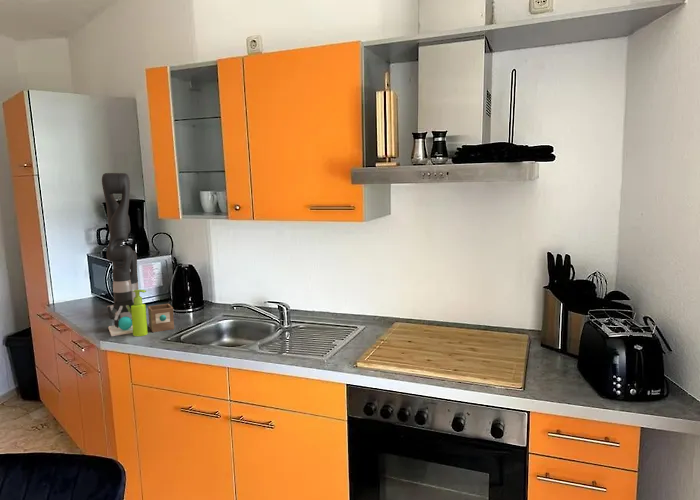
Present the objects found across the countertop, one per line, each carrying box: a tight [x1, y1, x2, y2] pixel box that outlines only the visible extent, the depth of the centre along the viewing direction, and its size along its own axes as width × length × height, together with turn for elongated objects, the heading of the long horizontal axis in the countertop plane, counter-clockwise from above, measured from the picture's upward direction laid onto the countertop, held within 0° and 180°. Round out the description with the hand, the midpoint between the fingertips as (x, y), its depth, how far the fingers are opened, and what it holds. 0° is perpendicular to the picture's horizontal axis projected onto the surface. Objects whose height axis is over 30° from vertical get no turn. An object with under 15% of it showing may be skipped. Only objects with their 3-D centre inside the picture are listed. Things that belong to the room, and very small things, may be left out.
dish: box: [108, 325, 133, 337], centre depth 226 cm, size 13×13×1 cm
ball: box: [118, 316, 132, 330], centre depth 225 cm, size 6×6×6 cm
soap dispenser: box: [131, 289, 148, 337], centre depth 218 cm, size 6×7×20 cm
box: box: [147, 303, 175, 333], centre depth 227 cm, size 10×9×10 cm
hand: (125, 326), depth 226 cm, fingers closed on ball, 6 cm apart
